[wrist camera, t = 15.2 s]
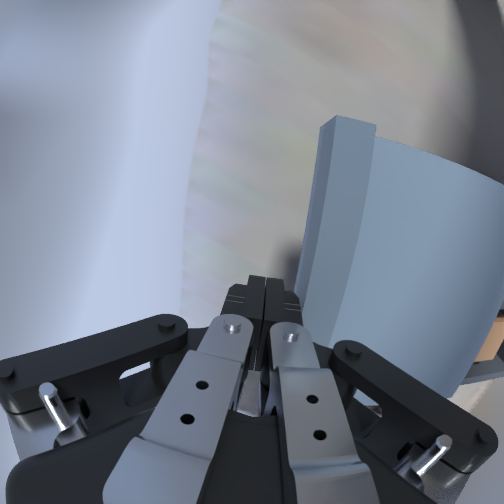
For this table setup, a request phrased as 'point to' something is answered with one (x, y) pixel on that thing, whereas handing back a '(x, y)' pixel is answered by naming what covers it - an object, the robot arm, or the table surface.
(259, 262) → the table surface
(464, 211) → the lid
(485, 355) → the tan block in compartment
